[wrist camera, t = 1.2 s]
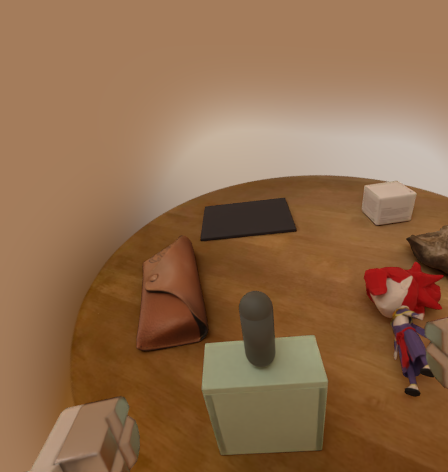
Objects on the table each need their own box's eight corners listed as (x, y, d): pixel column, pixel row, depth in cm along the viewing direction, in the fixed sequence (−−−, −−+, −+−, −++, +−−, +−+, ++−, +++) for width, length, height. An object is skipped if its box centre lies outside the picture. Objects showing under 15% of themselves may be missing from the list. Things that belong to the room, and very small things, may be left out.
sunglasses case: (139, 260, 48) (152, 224, 46) (182, 269, 51) (196, 236, 48) (134, 354, 33) (152, 309, 30) (195, 361, 36) (217, 320, 33)
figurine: (365, 394, 26) (348, 280, 38) (471, 422, 25) (419, 295, 37) (395, 348, 23) (366, 238, 35) (521, 379, 21) (445, 254, 34)
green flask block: (322, 450, 24) (334, 313, 16) (220, 455, 24) (182, 325, 16) (311, 404, 27) (317, 269, 19) (221, 409, 28) (189, 281, 19)
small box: (392, 205, 54) (397, 179, 51) (411, 221, 49) (418, 193, 46) (360, 210, 54) (363, 184, 51) (376, 226, 49) (380, 198, 46)
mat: (201, 241, 52) (200, 238, 52) (205, 208, 62) (205, 206, 62) (296, 231, 51) (296, 228, 50) (284, 199, 61) (284, 197, 60)
